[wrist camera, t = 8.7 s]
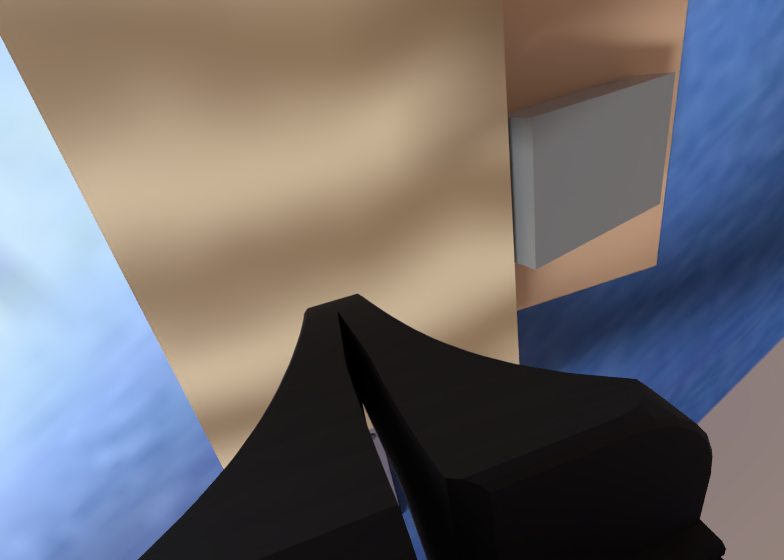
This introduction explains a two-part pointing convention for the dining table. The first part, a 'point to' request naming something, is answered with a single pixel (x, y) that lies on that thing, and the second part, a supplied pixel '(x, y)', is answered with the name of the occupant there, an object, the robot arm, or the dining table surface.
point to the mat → (578, 72)
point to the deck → (283, 171)
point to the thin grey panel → (586, 163)
